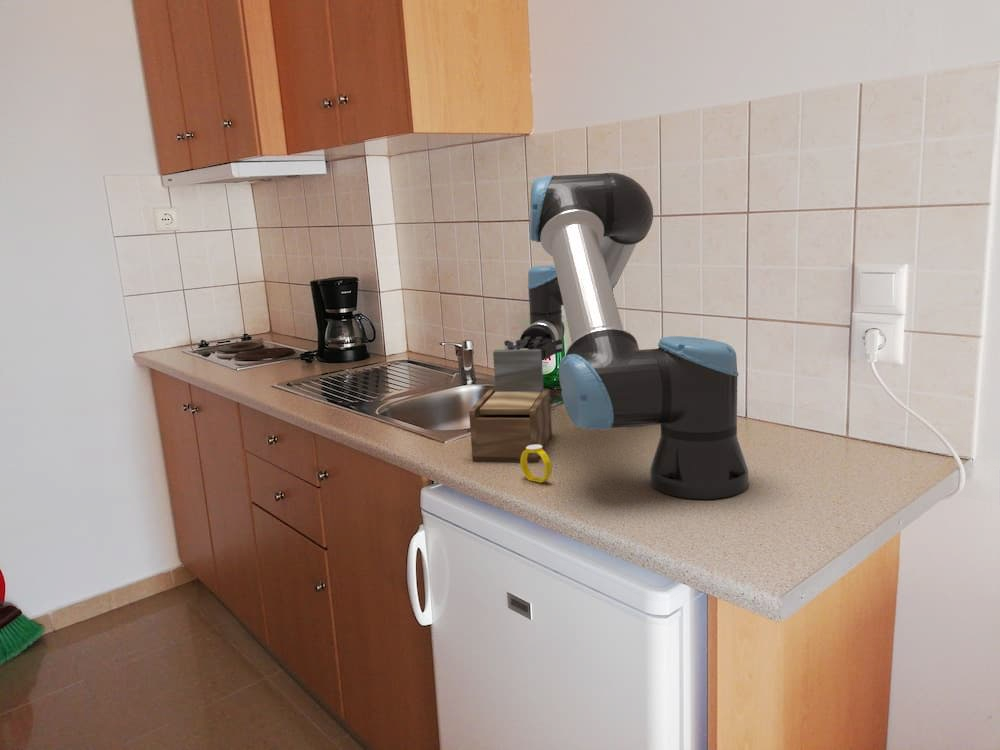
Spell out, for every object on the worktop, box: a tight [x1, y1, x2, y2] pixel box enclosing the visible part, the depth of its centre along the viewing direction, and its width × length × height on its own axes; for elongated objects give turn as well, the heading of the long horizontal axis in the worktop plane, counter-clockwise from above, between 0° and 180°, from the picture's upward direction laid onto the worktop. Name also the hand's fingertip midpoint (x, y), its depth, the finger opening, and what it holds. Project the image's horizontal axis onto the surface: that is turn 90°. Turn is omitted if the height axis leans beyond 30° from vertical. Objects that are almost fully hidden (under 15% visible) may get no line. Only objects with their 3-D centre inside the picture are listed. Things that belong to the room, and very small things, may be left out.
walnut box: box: [468, 388, 553, 464], centre depth 148 cm, size 16×12×10 cm
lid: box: [480, 348, 545, 415], centre depth 148 cm, size 15×9×9 cm, turn 167°
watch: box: [519, 444, 553, 484], centre depth 131 cm, size 6×3×6 cm, turn 44°
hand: (518, 361), depth 155 cm, fingers closed
